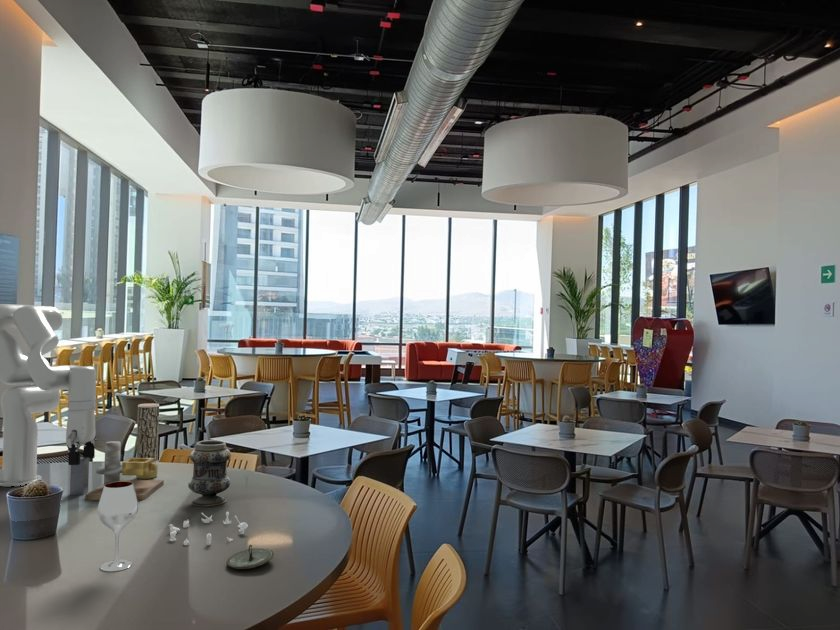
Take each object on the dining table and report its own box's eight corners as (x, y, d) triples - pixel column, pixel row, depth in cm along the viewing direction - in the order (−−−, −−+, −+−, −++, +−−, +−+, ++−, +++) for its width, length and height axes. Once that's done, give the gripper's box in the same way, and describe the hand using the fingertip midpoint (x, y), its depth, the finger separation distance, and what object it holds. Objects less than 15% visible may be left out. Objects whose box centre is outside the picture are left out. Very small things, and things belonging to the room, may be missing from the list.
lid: (279, 573, 142) (284, 550, 143) (240, 573, 135) (246, 549, 137) (255, 562, 150) (259, 540, 151) (217, 561, 143) (222, 538, 144)
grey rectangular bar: (69, 494, 195) (70, 459, 195) (74, 492, 198) (75, 456, 198) (83, 494, 195) (84, 459, 195) (88, 492, 198) (89, 456, 199)
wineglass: (125, 556, 146) (128, 478, 146) (143, 565, 141) (145, 484, 141) (89, 566, 140) (91, 484, 140) (106, 576, 134) (108, 491, 135)
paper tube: (135, 475, 220) (137, 403, 220) (156, 474, 223) (158, 403, 223) (136, 480, 214) (138, 406, 214) (157, 478, 217) (159, 405, 217)
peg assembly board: (83, 499, 190) (85, 448, 190) (109, 484, 208) (110, 437, 208) (144, 500, 191) (145, 448, 191) (164, 484, 209) (165, 437, 209)
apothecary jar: (236, 497, 196) (237, 439, 196) (220, 509, 184) (221, 446, 184) (198, 495, 197) (200, 437, 197) (180, 506, 185) (182, 445, 185)
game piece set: (261, 527, 170) (261, 512, 170) (218, 552, 151) (218, 536, 151) (198, 519, 175) (198, 505, 175) (149, 543, 156) (149, 527, 156)
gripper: (82, 403, 205) (82, 456, 205) (55, 409, 188) (55, 467, 188) (106, 403, 206) (106, 455, 205) (81, 409, 189) (81, 467, 188)
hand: (81, 461), depth 197 cm, fingers open, 9 cm apart
